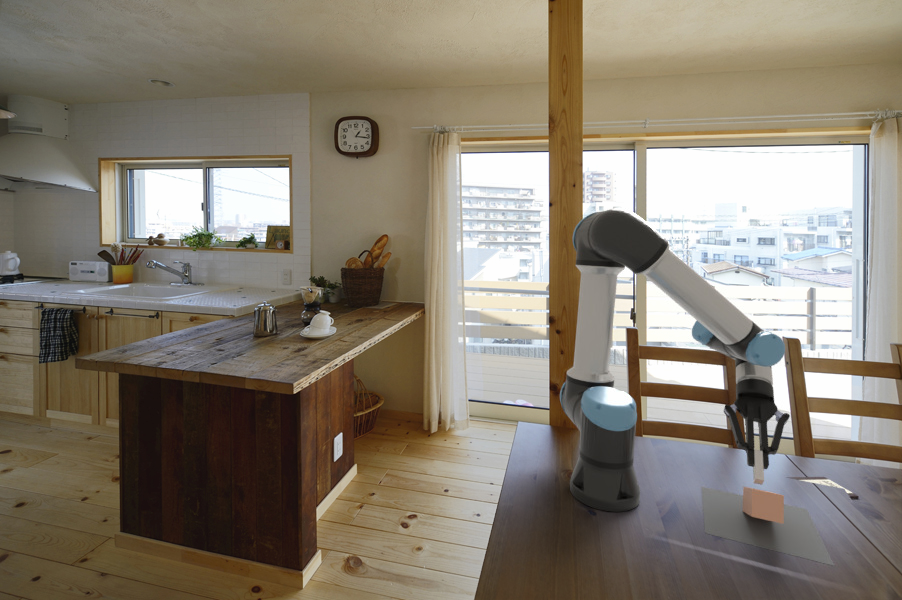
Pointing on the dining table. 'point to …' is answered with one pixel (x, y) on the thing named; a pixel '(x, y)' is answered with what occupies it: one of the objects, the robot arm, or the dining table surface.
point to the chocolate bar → (824, 483)
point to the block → (763, 504)
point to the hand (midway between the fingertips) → (758, 481)
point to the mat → (762, 527)
